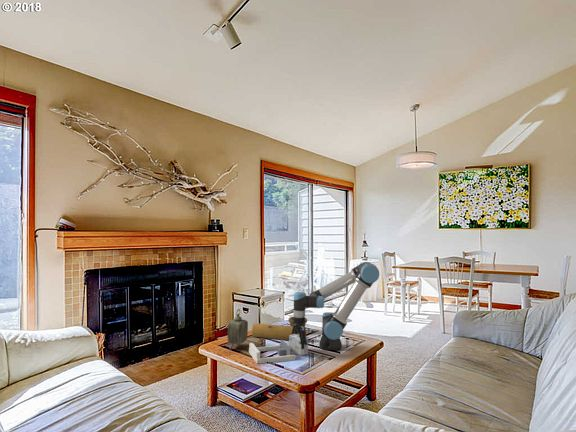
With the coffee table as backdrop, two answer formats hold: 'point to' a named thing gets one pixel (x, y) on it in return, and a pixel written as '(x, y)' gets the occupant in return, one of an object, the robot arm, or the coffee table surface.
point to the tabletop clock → (237, 331)
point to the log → (272, 331)
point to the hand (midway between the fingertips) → (298, 350)
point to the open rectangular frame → (256, 356)
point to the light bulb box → (297, 344)
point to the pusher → (284, 349)
